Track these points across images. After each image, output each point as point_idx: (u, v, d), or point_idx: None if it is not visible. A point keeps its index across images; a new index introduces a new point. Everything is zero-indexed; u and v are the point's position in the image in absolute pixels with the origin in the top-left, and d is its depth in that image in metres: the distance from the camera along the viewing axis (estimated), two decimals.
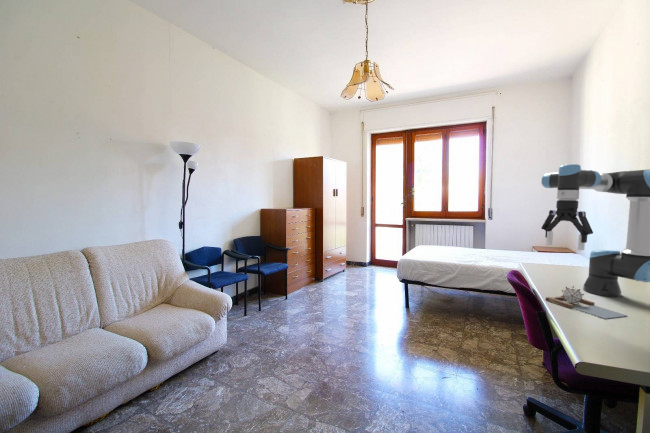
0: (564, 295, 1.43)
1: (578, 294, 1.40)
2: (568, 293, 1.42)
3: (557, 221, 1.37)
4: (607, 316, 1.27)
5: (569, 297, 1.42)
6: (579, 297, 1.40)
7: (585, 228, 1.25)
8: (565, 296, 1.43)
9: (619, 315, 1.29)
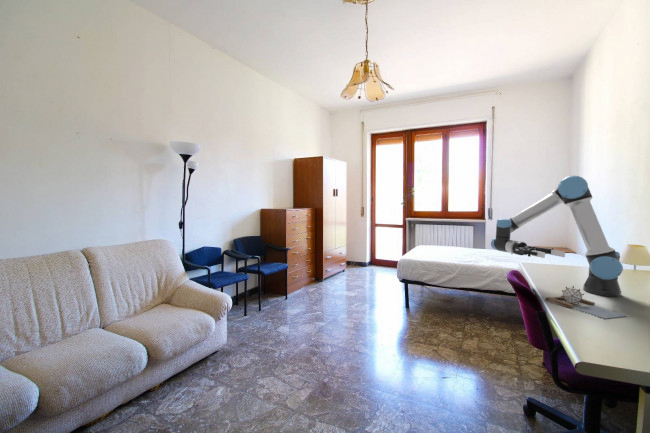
0: (564, 295, 1.43)
1: (578, 294, 1.40)
2: (568, 293, 1.42)
3: (537, 251, 1.63)
4: (607, 316, 1.27)
5: (569, 297, 1.42)
6: (579, 297, 1.40)
7: (523, 254, 1.58)
8: (565, 296, 1.43)
9: (619, 315, 1.29)
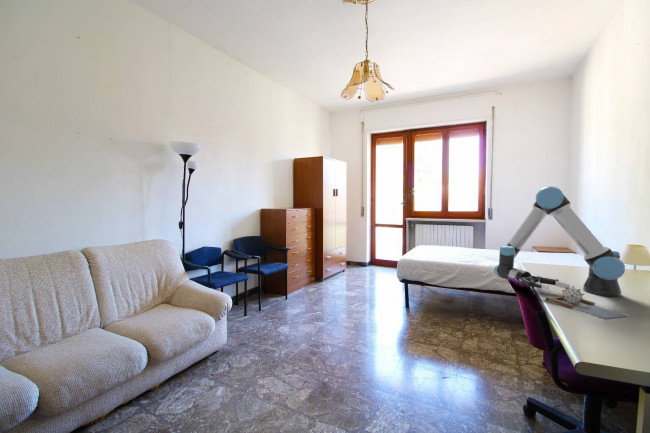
0: (564, 295, 1.43)
1: (578, 294, 1.40)
2: (568, 293, 1.42)
3: (541, 281, 1.61)
4: (607, 316, 1.27)
5: (569, 297, 1.42)
6: (579, 297, 1.40)
7: None
8: (565, 296, 1.43)
9: (619, 315, 1.29)
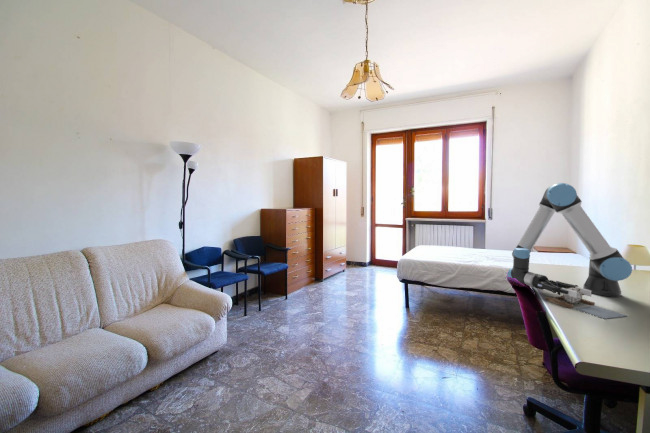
0: (564, 294, 1.43)
1: (578, 294, 1.40)
2: None
3: (559, 287, 1.51)
4: (607, 316, 1.27)
5: (569, 297, 1.42)
6: (579, 297, 1.40)
7: None
8: (565, 296, 1.43)
9: (619, 315, 1.29)
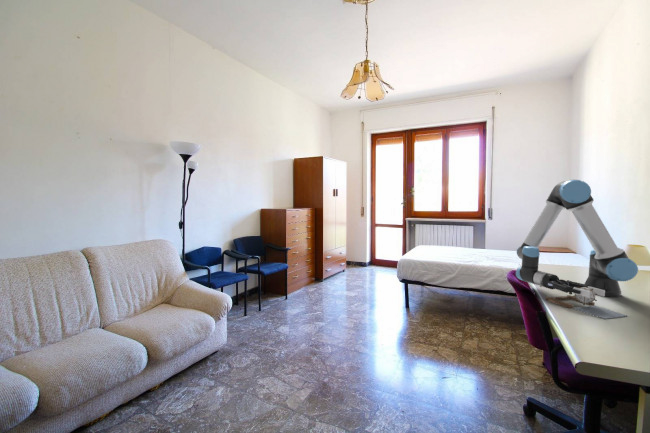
0: (576, 294, 1.38)
1: (591, 294, 1.35)
2: None
3: (571, 286, 1.46)
4: (607, 316, 1.27)
5: (581, 297, 1.36)
6: (592, 297, 1.34)
7: None
8: (577, 296, 1.37)
9: (619, 315, 1.29)
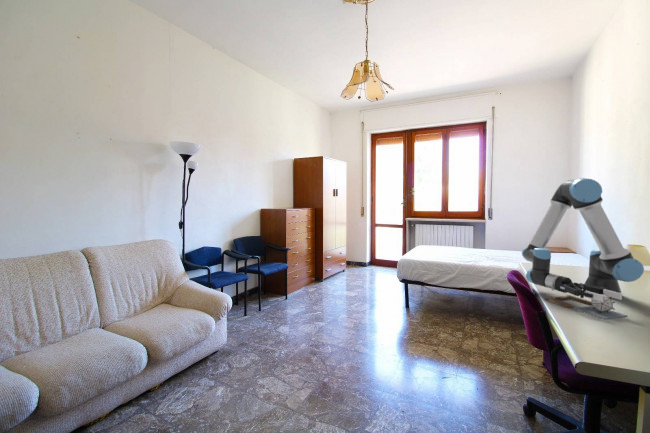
0: (593, 302, 1.32)
1: (609, 302, 1.29)
2: None
3: (585, 289, 1.41)
4: (607, 316, 1.27)
5: (598, 305, 1.30)
6: (610, 305, 1.28)
7: None
8: (594, 303, 1.32)
9: (619, 315, 1.29)
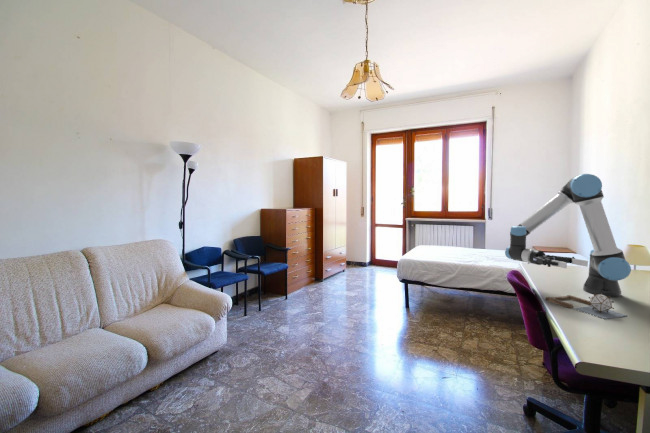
0: (592, 302, 1.32)
1: (608, 302, 1.29)
2: (596, 300, 1.31)
3: (557, 260, 1.53)
4: (607, 316, 1.27)
5: (598, 305, 1.30)
6: (609, 305, 1.29)
7: None
8: (593, 304, 1.32)
9: (619, 315, 1.29)
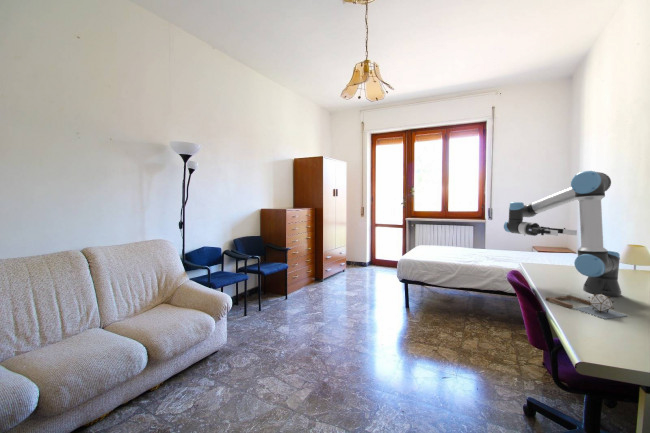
0: (592, 302, 1.32)
1: (608, 302, 1.29)
2: (596, 300, 1.31)
3: None
4: (607, 316, 1.27)
5: (598, 305, 1.30)
6: (609, 305, 1.29)
7: (537, 233, 1.66)
8: (593, 304, 1.32)
9: (619, 315, 1.29)
